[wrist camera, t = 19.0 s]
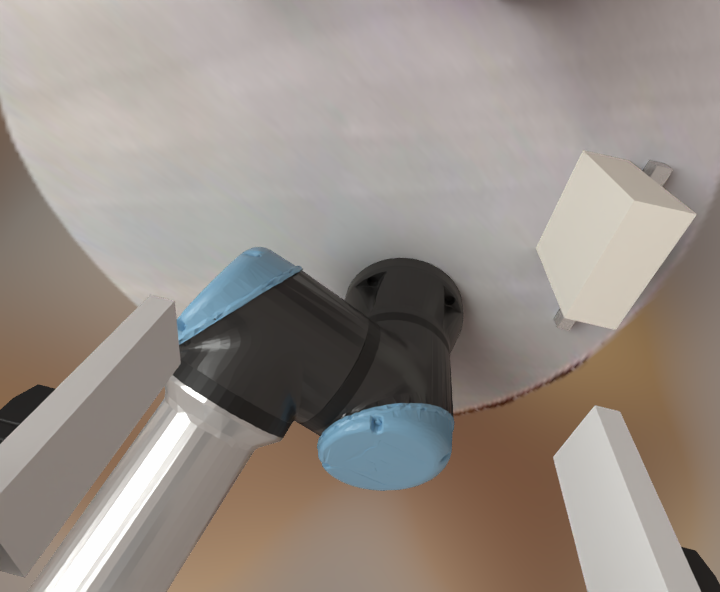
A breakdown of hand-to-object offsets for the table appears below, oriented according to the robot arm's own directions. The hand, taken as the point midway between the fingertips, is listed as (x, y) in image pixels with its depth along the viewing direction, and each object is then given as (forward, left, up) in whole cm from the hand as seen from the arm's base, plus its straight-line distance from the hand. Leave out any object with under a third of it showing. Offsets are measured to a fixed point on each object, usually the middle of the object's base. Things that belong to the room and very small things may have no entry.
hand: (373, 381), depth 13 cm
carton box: (-4, -18, -35) cm, 40 cm away
